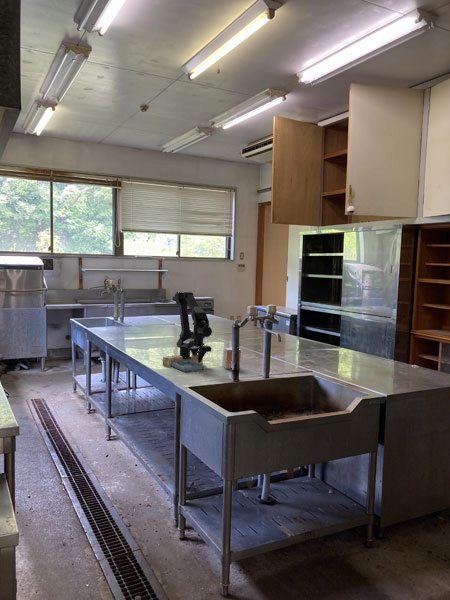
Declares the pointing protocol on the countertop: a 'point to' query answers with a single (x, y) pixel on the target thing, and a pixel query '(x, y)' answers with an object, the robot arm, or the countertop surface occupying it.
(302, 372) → the countertop surface
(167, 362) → the oak cube
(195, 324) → the robot arm
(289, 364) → the countertop surface
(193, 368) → the tray
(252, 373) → the countertop surface
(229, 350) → the small box
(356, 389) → the countertop surface
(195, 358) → the oak cube
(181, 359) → the oak cube
